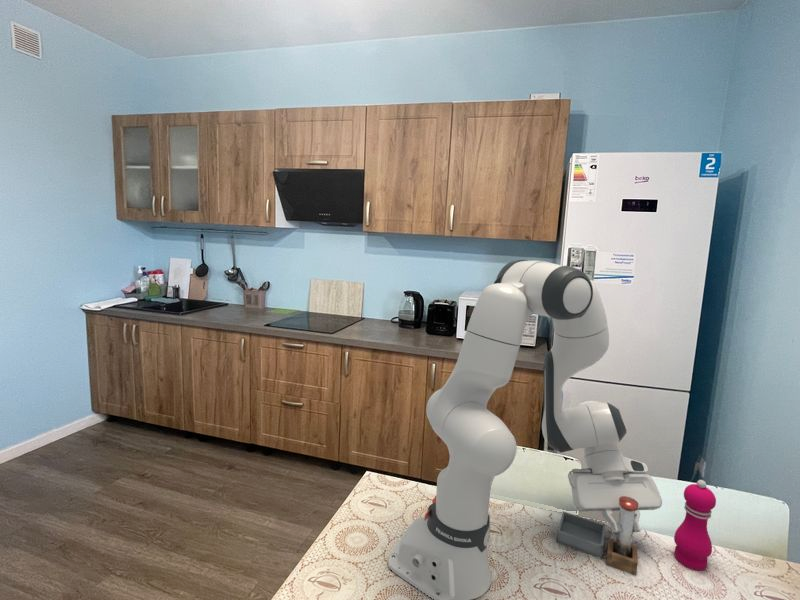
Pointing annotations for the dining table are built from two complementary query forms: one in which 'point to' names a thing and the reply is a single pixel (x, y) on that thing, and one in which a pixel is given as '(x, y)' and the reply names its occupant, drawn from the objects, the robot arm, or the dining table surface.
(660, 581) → the dining table surface
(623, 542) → the pin
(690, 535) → the pepper mill
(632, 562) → the socket block
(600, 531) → the tray
